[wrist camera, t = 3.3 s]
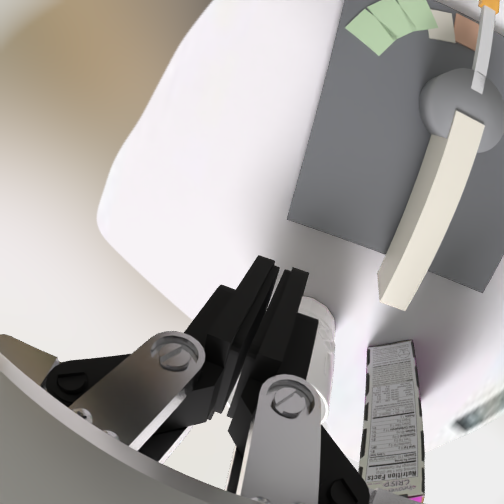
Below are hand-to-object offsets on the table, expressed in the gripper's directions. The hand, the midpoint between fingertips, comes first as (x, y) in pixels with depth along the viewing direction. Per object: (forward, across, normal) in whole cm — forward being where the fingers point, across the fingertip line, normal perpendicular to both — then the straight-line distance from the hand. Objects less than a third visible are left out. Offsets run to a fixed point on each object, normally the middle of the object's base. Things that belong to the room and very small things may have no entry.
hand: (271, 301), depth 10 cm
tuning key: (+14, -7, -7) cm, 17 cm away
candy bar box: (+15, -14, +16) cm, 26 cm away
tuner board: (+15, -7, -7) cm, 18 cm away
